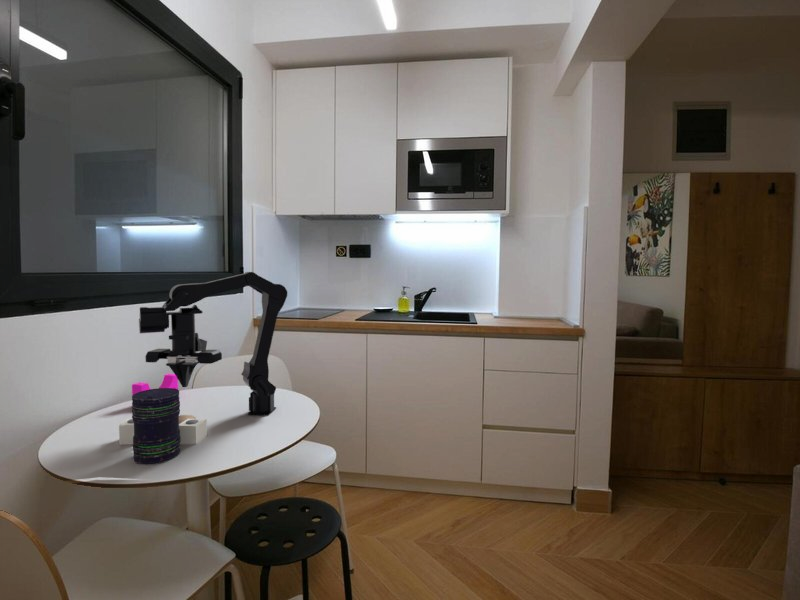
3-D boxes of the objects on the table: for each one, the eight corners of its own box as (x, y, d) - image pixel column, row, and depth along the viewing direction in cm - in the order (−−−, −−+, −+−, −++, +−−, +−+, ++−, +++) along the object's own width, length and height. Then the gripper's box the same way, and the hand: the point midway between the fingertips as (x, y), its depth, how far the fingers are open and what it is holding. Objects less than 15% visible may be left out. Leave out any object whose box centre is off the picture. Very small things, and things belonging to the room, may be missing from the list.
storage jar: (147, 447, 105) (145, 387, 104) (188, 446, 106) (186, 387, 105) (123, 465, 95) (121, 400, 94) (169, 464, 96) (167, 399, 95)
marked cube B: (148, 435, 113) (147, 416, 112) (142, 443, 108) (141, 423, 107) (126, 437, 111) (126, 417, 111) (119, 445, 106) (119, 424, 106)
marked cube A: (206, 438, 112) (206, 418, 111) (196, 445, 107) (195, 425, 106) (188, 437, 112) (188, 417, 112) (177, 444, 107) (176, 424, 107)
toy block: (148, 409, 134) (147, 386, 134) (132, 407, 136) (131, 384, 135) (184, 396, 148) (183, 375, 148) (169, 394, 150) (168, 373, 150)
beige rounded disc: (196, 423, 121) (196, 413, 121) (195, 434, 114) (195, 423, 114) (164, 427, 118) (164, 417, 118) (161, 439, 111) (161, 428, 110)
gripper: (230, 327, 123) (231, 380, 124) (168, 326, 124) (170, 378, 126) (210, 332, 112) (212, 390, 113) (143, 331, 113) (145, 389, 114)
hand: (185, 386), depth 117 cm, fingers closed
